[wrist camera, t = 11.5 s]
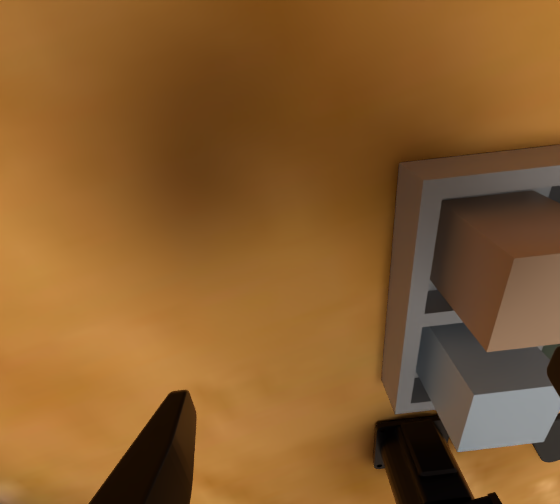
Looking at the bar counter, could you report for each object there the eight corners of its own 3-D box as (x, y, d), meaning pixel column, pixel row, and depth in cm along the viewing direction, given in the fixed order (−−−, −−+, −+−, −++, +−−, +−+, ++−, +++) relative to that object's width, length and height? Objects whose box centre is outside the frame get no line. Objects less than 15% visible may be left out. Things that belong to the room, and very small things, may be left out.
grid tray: (596, 354, 27) (697, 441, 21) (381, 379, 27) (418, 474, 20) (715, 127, 18) (946, 162, 12) (399, 162, 18) (472, 216, 12)
